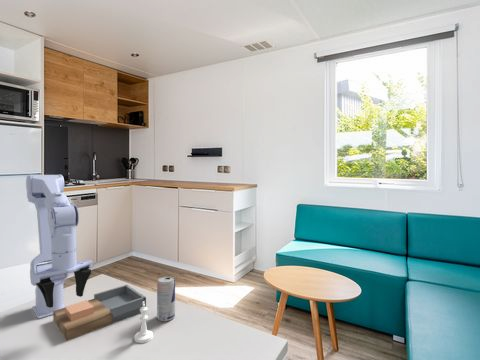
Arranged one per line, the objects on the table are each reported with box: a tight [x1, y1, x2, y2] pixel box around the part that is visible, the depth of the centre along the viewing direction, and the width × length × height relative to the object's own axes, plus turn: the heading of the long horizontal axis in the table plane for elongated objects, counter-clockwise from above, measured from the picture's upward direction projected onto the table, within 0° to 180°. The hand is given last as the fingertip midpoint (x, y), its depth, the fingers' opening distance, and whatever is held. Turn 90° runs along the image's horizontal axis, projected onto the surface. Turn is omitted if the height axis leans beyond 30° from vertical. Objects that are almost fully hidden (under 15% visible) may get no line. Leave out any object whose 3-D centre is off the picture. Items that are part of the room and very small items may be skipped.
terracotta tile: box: [65, 299, 94, 321], centre depth 84 cm, size 6×6×2 cm
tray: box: [93, 284, 147, 324], centre depth 92 cm, size 14×11×4 cm
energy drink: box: [156, 275, 176, 322], centre depth 88 cm, size 5×5×12 cm
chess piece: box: [133, 301, 154, 344], centre depth 77 cm, size 5×5×10 cm
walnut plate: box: [52, 298, 114, 342], centre depth 85 cm, size 14×12×3 cm
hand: (65, 300), depth 77 cm, fingers open, 7 cm apart
